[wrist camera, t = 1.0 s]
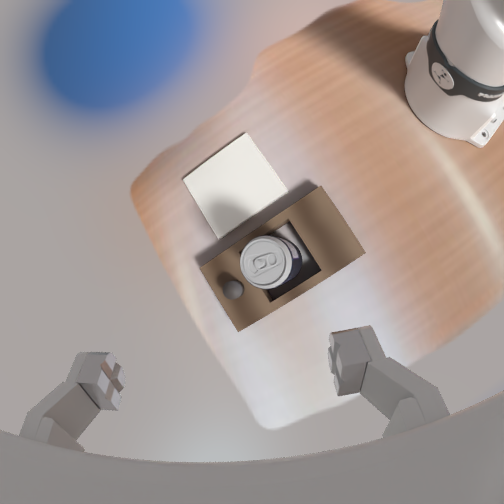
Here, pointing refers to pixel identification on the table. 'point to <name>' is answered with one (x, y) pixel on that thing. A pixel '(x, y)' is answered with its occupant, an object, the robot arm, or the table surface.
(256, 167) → the pad
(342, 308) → the table surface
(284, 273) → the beverage can
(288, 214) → the base
